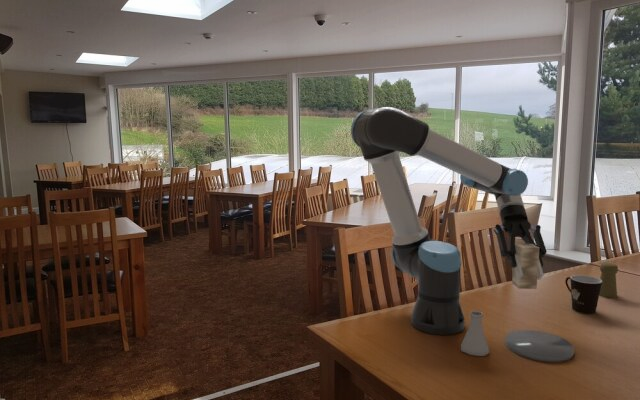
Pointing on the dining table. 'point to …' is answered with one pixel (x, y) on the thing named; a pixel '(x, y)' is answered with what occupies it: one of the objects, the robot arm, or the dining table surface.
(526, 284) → the birch block
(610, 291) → the cork
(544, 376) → the dining table surface
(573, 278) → the coffee mug
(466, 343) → the flask
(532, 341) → the plate
